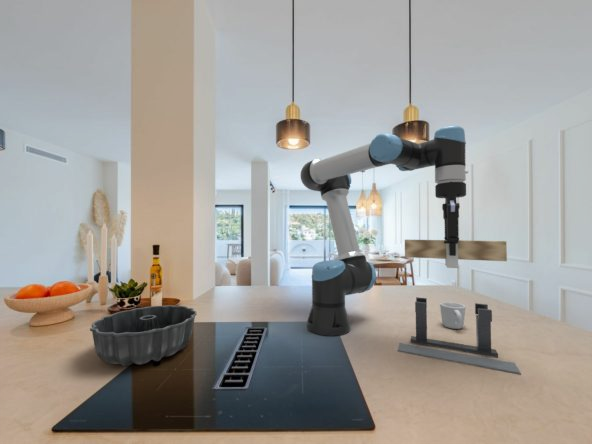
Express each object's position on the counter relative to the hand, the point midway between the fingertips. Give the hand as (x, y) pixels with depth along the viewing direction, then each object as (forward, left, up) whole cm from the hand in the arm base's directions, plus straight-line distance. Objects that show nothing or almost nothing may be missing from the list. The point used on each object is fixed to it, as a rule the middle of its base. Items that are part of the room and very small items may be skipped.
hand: (451, 266), depth 76 cm
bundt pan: (-78, -36, -25) cm, 89 cm away
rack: (0, +6, -25) cm, 25 cm away
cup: (+2, +25, -25) cm, 35 cm away
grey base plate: (0, -1, -25) cm, 25 cm away
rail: (0, 0, +2) cm, 2 cm away
